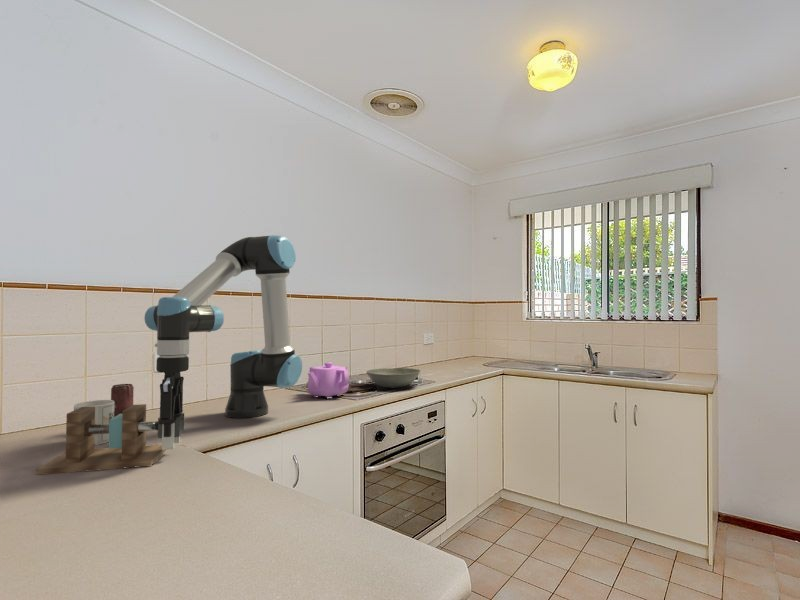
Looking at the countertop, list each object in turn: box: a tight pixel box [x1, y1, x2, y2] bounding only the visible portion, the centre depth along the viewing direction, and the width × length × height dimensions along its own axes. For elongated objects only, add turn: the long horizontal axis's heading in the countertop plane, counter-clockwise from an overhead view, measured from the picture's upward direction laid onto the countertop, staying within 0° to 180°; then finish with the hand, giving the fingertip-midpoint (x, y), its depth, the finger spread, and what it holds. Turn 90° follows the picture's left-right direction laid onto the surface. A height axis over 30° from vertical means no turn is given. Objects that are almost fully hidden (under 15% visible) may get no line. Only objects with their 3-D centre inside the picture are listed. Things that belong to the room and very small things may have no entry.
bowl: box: [365, 367, 421, 388], centre depth 225 cm, size 27×28×8 cm
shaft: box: [89, 412, 185, 439], centre depth 114 cm, size 21×5×5 cm, turn 104°
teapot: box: [307, 361, 350, 398], centre depth 199 cm, size 19×18×15 cm
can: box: [110, 383, 134, 417], centre depth 143 cm, size 6×6×14 cm
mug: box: [73, 399, 115, 446], centre depth 128 cm, size 10×12×11 cm
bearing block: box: [36, 403, 167, 475], centre depth 112 cm, size 24×14×13 cm, turn 104°
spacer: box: [108, 414, 122, 449], centre depth 113 cm, size 3×7×7 cm, turn 13°
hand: (171, 445), depth 116 cm, fingers closed on shaft, 5 cm apart
